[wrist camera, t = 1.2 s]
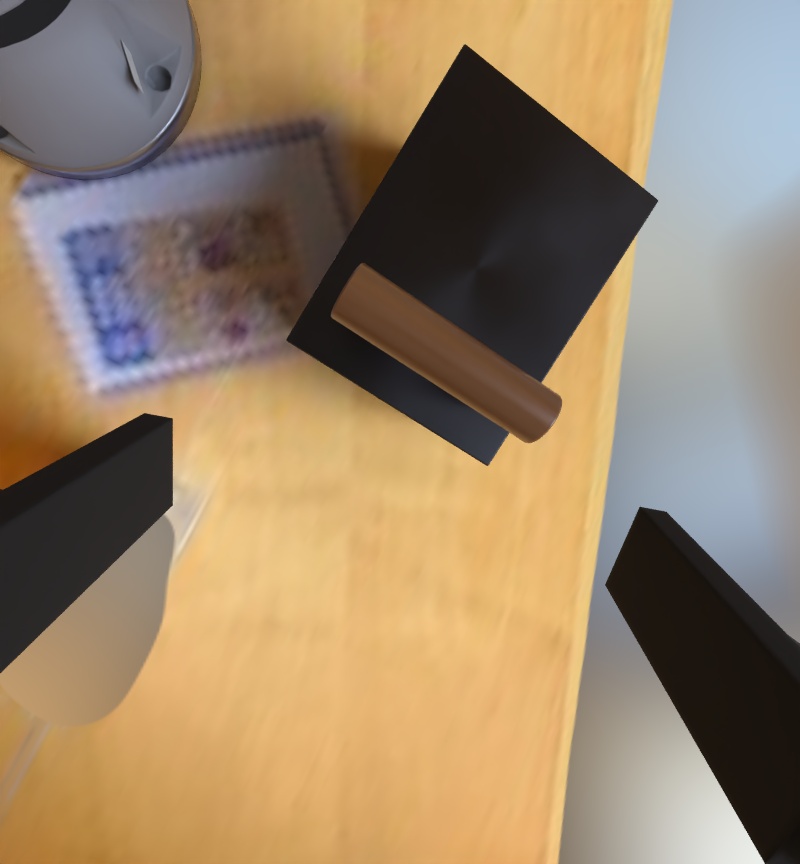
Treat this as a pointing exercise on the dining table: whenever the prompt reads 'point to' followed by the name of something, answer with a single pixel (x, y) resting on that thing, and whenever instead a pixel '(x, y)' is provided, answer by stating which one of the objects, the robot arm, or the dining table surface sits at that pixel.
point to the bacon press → (474, 263)
